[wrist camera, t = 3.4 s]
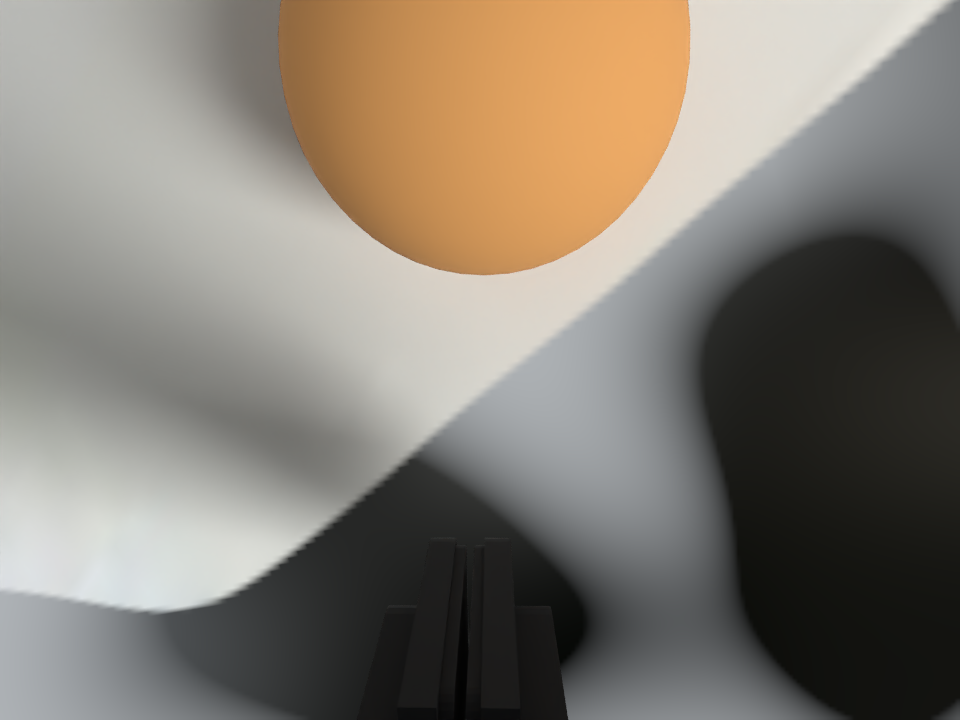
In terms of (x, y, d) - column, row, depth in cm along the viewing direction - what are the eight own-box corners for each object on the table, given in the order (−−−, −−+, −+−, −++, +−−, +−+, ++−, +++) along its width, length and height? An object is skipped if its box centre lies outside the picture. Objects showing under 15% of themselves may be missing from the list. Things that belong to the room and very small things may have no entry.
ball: (642, -57, 10) (824, -404, 5) (623, 257, 12) (741, 300, 6) (334, -48, 11) (133, -367, 5) (357, 260, 12) (225, 303, 6)
